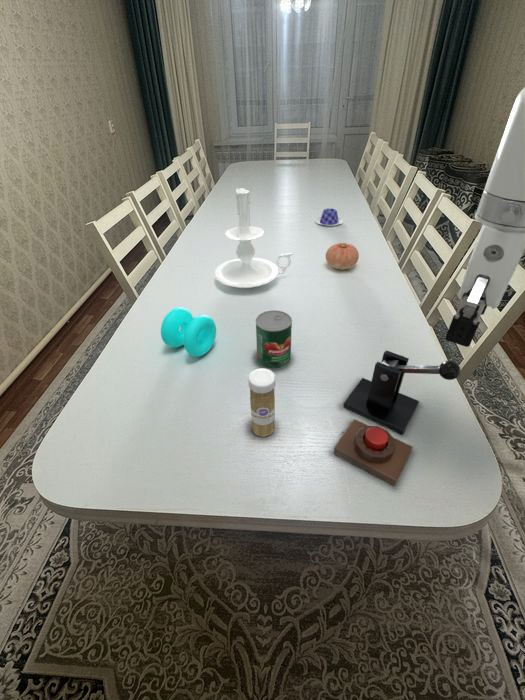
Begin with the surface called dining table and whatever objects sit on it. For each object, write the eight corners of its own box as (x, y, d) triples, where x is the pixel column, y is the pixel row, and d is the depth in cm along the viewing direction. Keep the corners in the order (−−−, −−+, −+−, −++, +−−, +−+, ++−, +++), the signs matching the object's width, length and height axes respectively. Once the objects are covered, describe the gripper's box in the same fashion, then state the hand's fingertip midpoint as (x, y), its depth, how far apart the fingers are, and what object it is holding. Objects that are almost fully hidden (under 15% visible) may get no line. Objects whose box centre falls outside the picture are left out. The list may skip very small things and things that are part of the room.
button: (389, 439, 62) (391, 433, 61) (381, 454, 59) (383, 447, 58) (369, 430, 63) (370, 423, 62) (360, 444, 61) (362, 437, 60)
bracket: (417, 405, 72) (433, 360, 65) (402, 434, 66) (418, 389, 59) (361, 381, 78) (370, 337, 70) (343, 407, 72) (350, 362, 65)
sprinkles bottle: (255, 440, 66) (252, 388, 58) (248, 422, 69) (245, 370, 61) (278, 434, 67) (279, 382, 59) (271, 416, 70) (270, 364, 62)
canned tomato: (276, 375, 80) (276, 335, 73) (250, 360, 84) (247, 321, 77) (297, 357, 84) (299, 318, 78) (271, 344, 89) (271, 306, 82)
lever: (464, 373, 59) (460, 356, 58) (459, 384, 57) (455, 367, 56) (388, 371, 68) (384, 356, 67) (381, 380, 66) (377, 365, 65)
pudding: (342, 227, 150) (344, 215, 147) (314, 226, 152) (314, 214, 149) (342, 218, 160) (344, 206, 156) (315, 217, 162) (316, 205, 158)
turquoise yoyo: (194, 366, 83) (188, 331, 77) (162, 353, 87) (154, 318, 81) (220, 343, 89) (216, 309, 83) (189, 332, 94) (183, 298, 87)
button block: (410, 452, 63) (415, 440, 61) (394, 486, 58) (399, 474, 56) (352, 424, 68) (355, 412, 66) (333, 453, 63) (335, 441, 61)
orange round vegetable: (359, 274, 117) (363, 250, 112) (326, 274, 117) (328, 251, 112) (353, 260, 126) (357, 237, 121) (322, 260, 126) (324, 238, 121)
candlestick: (295, 294, 108) (299, 196, 90) (213, 297, 107) (201, 200, 90) (288, 264, 124) (290, 177, 106) (216, 267, 123) (207, 180, 106)
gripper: (543, 239, 36) (480, 367, 46) (556, 196, 46) (502, 308, 57) (462, 224, 39) (421, 346, 50) (492, 187, 50) (453, 294, 61)
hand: (465, 326), depth 54 cm, fingers open, 9 cm apart
